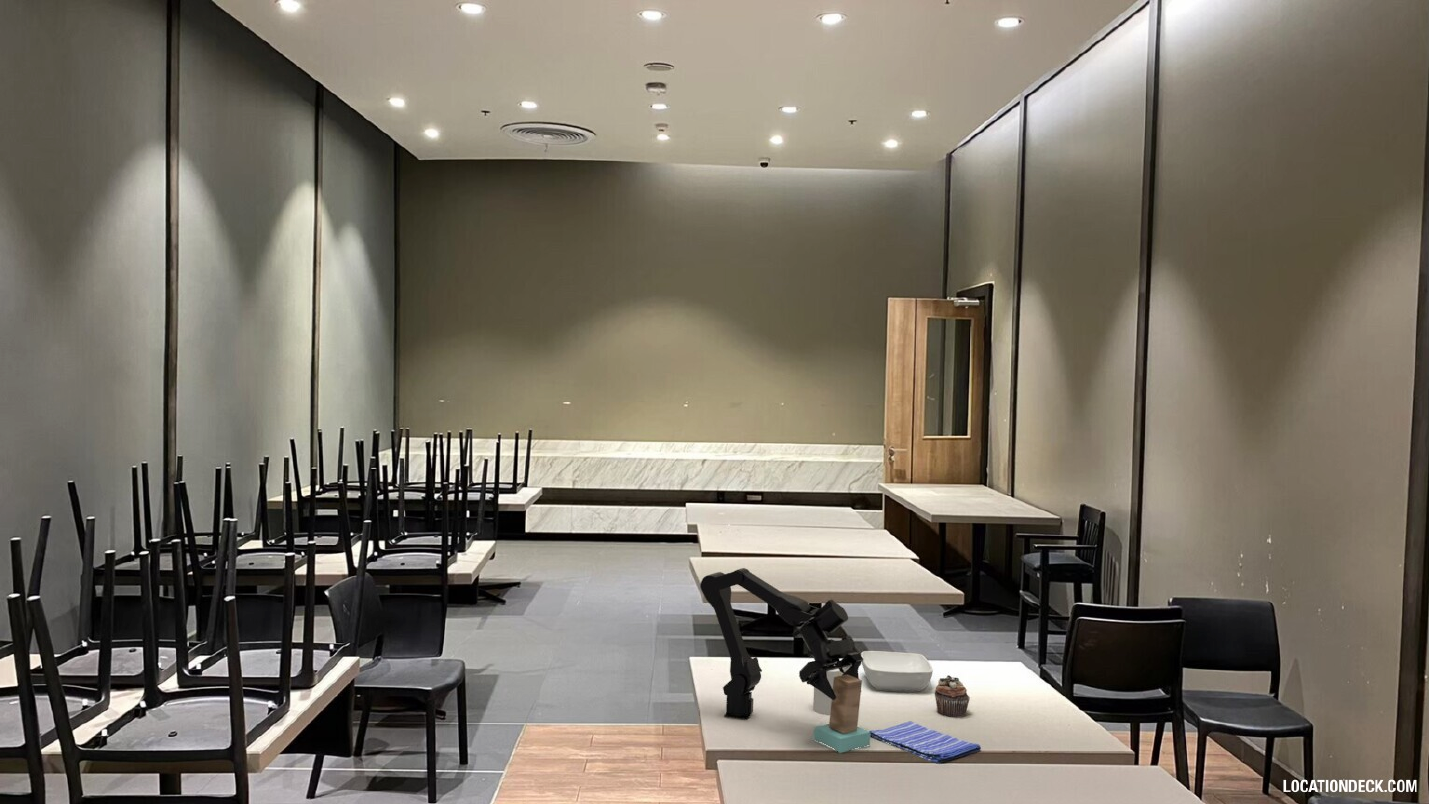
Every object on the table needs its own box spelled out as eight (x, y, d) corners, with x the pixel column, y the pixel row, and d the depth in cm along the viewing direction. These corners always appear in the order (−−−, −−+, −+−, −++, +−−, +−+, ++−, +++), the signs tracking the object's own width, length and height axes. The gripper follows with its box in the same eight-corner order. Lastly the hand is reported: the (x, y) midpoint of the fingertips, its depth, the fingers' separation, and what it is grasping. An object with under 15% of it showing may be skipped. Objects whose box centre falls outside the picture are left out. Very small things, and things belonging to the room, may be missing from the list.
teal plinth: (813, 742, 268) (814, 726, 268) (843, 735, 274) (843, 720, 274) (839, 754, 260) (840, 738, 260) (869, 747, 266) (870, 732, 266)
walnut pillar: (828, 727, 267) (834, 676, 266) (842, 724, 270) (847, 674, 270) (843, 733, 263) (848, 682, 263) (856, 730, 266) (862, 680, 266)
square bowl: (935, 696, 310) (936, 670, 309) (865, 694, 310) (866, 668, 310) (922, 676, 330) (923, 652, 330) (857, 674, 330) (858, 649, 330)
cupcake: (962, 720, 288) (964, 684, 288) (928, 713, 293) (930, 677, 293) (973, 711, 296) (975, 676, 296) (940, 705, 301) (942, 670, 301)
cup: (841, 715, 289) (842, 672, 288) (811, 712, 290) (813, 669, 290) (843, 706, 297) (845, 664, 296) (814, 704, 298) (816, 661, 298)
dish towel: (939, 767, 255) (940, 755, 255) (866, 738, 273) (867, 727, 273) (983, 752, 265) (983, 741, 265) (910, 726, 284) (910, 715, 284)
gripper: (808, 630, 263) (839, 685, 255) (859, 621, 275) (890, 673, 267) (785, 654, 270) (814, 708, 262) (836, 644, 282) (865, 696, 274)
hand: (847, 696), depth 266 cm, fingers open, 9 cm apart
